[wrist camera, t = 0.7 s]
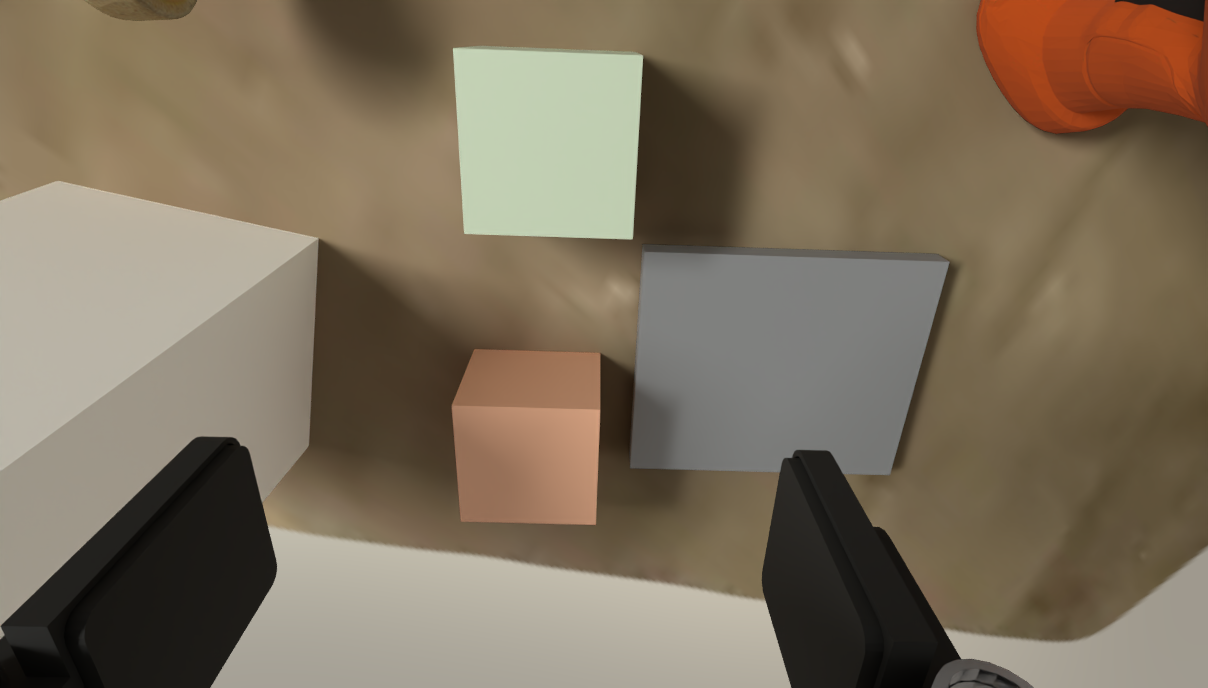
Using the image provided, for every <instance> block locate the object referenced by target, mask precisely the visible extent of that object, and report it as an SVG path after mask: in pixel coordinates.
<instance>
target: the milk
mask: <svg viewBox="0 0 1208 688" xmlns="http://www.w3.org/2000/svg"><path fill="white" fill-rule="evenodd" d="M318 241H319V238H315V237H311V236H306V235H302V234H297V233H293V232H288V231H284V230H279V229H275V228H270V227H265V226H261V225H256V224H252V223H247V222H243V221H238V220H234V219H229V218H225V217H220V216H215V215H211V214H206V213H202V212H197V211H193V210H188V209H184V208H179V207H174V206H170V205H165V204H161V203H156V202H152V201H147V200H143V199H138V198H134V197H129V196H124V195H120V194H115V193H111V192H106V191H102V190H97V189H93V188H88V187H83V186H79V185H74V184H70V183H65V182H61V181H56V182H53V183H50V184H47V185H44V186H41V187H38V188H36V189H33V190H30V191H27V192H24V193H21V194H18V195H15V196H12V197H10V198H7V199H4V200H1V201H0V626H1V625H2V624H3V623H4V622H5V621H6V620H7V619H8V618H9V617H10V616H11V615H12V614H13V613H14V612H15V611H16V610H17V609H18V608H19V607H20V606H21V605H22V604H23V603H25V602H26V601H27V600H28V599H29V598H30V597H31V596H32V595H33V594H34V593H35V592H36V591H37V590H38V589H39V588H40V587H41V586H42V585H43V584H44V583H45V582H46V581H47V580H48V579H49V578H50V577H51V576H52V575H53V574H54V573H55V572H57V571H58V570H59V569H60V568H61V567H62V566H63V565H64V564H65V563H66V562H67V561H68V560H69V559H70V558H71V557H72V556H73V555H74V554H75V553H76V552H77V551H78V550H79V549H80V548H81V547H82V546H83V545H84V544H85V543H86V542H87V541H89V540H90V539H91V538H92V537H93V536H94V535H95V534H96V533H97V532H98V531H99V530H100V529H101V528H102V527H103V526H104V525H105V524H106V523H107V522H108V521H109V520H110V519H111V518H112V517H113V516H114V515H115V514H116V513H117V512H118V511H119V510H121V509H122V508H123V507H124V506H125V505H126V504H127V503H128V502H129V501H130V500H131V499H132V498H133V497H134V496H135V495H136V494H137V493H138V492H139V491H140V490H141V489H142V488H143V487H144V486H145V485H146V484H147V483H148V482H149V481H150V480H151V479H153V478H154V477H155V476H156V475H157V474H158V473H159V472H160V471H161V470H162V469H163V468H164V467H165V466H166V465H167V464H168V463H169V462H170V461H171V460H172V459H173V458H174V457H175V456H176V455H177V454H178V453H179V452H180V451H181V450H182V449H183V448H185V447H186V446H187V445H188V444H189V443H190V442H191V441H192V440H193V439H195V438H196V437H201V436H207V437H233V438H236V439H237V440H238V442H239V443H240V446H245V447H247V448H248V450H249V452H250V456H251V460H252V464H253V468H254V472H255V476H256V480H257V484H258V488H259V493H260V497H261V501H262V503H263V501H264V500H265V499H266V498H267V496H268V495H269V494H270V493H271V492H272V490H273V489H274V488H275V487H276V486H277V484H278V483H279V482H280V481H281V479H282V478H283V477H284V476H285V475H286V473H287V472H288V471H289V470H290V468H291V467H292V466H293V465H294V464H295V462H296V461H297V460H298V459H299V458H300V456H301V455H302V454H303V453H304V451H305V450H306V449H307V448H308V447H309V434H310V412H311V391H312V369H313V348H314V327H315V305H316V284H317V262H318ZM3 636H4V633H3V631H2V629H1V627H0V639H1V638H2V637H3Z"/></svg>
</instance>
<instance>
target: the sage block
mask: <svg viewBox="0 0 1208 688" xmlns="http://www.w3.org/2000/svg"><path fill="white" fill-rule="evenodd" d="M453 55H454V71H455V88H456V105H457V121H458V138H459V154H460V171H461V188H462V204H463V221H464V234H486V235H516V236H545V237H575V238H604V239H633V225H634V208H635V190H636V172H637V155H638V137H639V120H640V102H641V84H642V67H643V55H641V54H639V53H637V52H624V51H598V50H573V49H547V48H522V47H496V46H473V47H460V48H453Z"/></svg>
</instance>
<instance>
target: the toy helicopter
mask: <svg viewBox="0 0 1208 688" xmlns="http://www.w3.org/2000/svg"><path fill="white" fill-rule="evenodd" d="M85 1H86V2H87V3H89V4H90V5H91V6H93V7H94V8H96V9H97V10H99V11H101V12H102V13H105V14H107V15H109V16H111V17H115V18H118V19H122V20H132V21H145V20H168V19H179V18H182V17H184V16H186V15H187V14H189V13H190V12H191V10H192V9H193V7H194V6H195V4H196V2H197V0H85Z"/></svg>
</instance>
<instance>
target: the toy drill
mask: <svg viewBox="0 0 1208 688" xmlns="http://www.w3.org/2000/svg"><path fill="white" fill-rule="evenodd" d="M977 36H978V41H979V46H980V49H981V51H982V54H983V57H984V59H985V62H986V64H987V66H988V68H989V70H990V73H991V75H992V77H993V79H994V80H995V82H996V84H997V85H998V87H999V89H1000V90H1001V92H1002V93H1003V95H1004V96H1005V98H1006V99H1007V100H1008V102H1009V103H1010V104H1011V106H1012V107H1013V108H1014V109H1015V110H1016V111H1017V112H1018V113H1019V114H1020V115H1021V116H1022V117H1023V119H1025V120H1026V121H1028V122H1029V123H1031V124H1032V125H1034V126H1035V127H1037V128H1039V129H1041V130H1043V131H1047V132H1051V133H1055V134H1058V133H1070V132H1081V131H1087V130H1091V129H1094V128H1098V127H1101V126H1103V125H1105V124H1107V123H1109V122H1111V121H1113V120H1115V119H1116V118H1117V117H1118V116H1120V115H1121V114H1122V113H1123V112H1124V111H1126V110H1127V109H1128V108H1142V109H1150V110H1155V111H1160V112H1165V113H1170V114H1175V115H1180V116H1183V117H1187V118H1191V119H1194V120H1198V121H1201V122H1205V123H1206V125H1207V127H1208V0H981V2H980V5H979V9H978V12H977Z"/></svg>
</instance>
